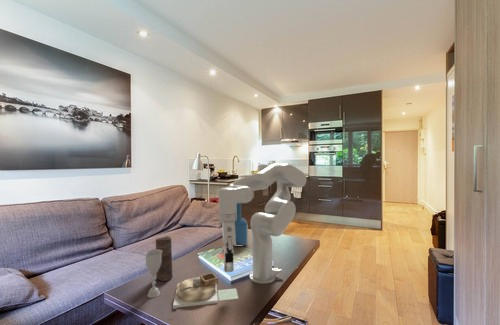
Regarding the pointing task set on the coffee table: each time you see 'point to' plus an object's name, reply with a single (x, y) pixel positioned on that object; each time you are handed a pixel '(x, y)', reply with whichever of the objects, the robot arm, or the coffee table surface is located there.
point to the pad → (227, 294)
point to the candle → (165, 258)
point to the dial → (197, 287)
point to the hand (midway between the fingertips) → (228, 259)
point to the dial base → (182, 303)
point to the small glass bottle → (228, 266)
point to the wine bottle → (241, 228)
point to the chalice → (153, 269)
